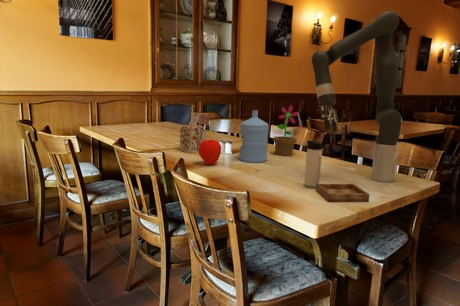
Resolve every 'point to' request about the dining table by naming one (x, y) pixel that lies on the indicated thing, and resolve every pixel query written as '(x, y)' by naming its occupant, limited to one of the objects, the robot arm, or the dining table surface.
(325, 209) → the dining table surface
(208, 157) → the apple
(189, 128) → the decorative jar
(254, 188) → the dining table surface
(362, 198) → the tray
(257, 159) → the water jug
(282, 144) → the flowerpot
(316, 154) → the travel mug
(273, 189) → the dining table surface
